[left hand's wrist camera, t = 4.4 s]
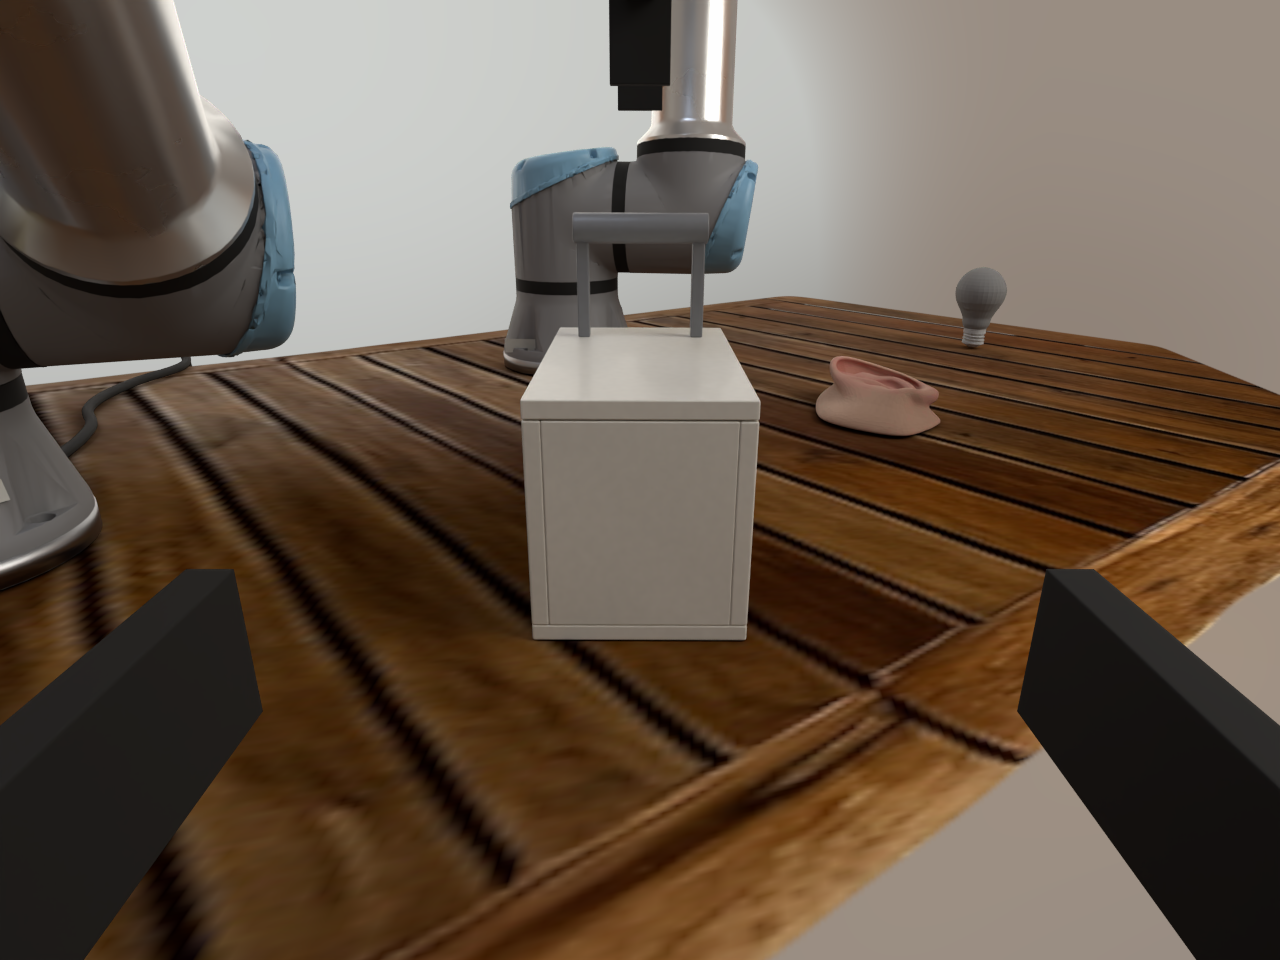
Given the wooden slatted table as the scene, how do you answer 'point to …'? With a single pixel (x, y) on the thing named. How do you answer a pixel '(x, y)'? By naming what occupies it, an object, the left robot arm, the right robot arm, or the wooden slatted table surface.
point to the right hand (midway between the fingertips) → (640, 100)
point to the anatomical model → (876, 399)
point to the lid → (640, 344)
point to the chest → (639, 527)
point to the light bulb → (979, 302)
